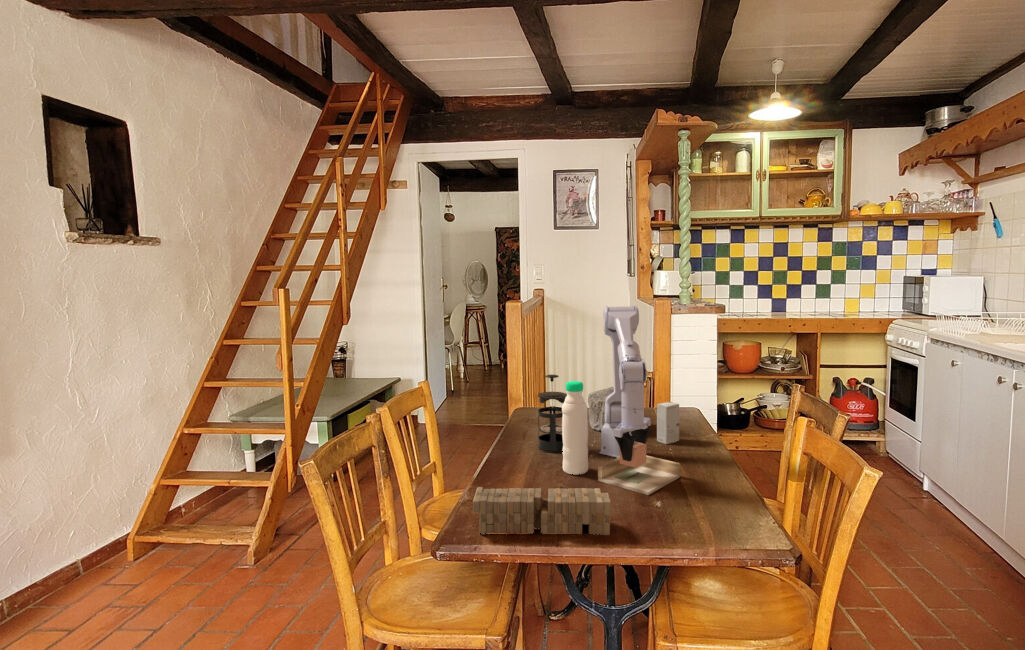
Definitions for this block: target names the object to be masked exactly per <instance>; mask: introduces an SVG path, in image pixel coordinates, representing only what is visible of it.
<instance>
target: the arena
mask: <svg viewBox="0 0 1025 650" xmlns="http://www.w3.org/2000/svg"><path fill="white" fill-rule="evenodd" d="M679 478H681V463H680V462H676V461H672V460H668V459H663V458H659V457H655V456H651V455H647V454H646V463H645V464H643V465H641V466H639V467H637V468H635V467H631V466H627V465H623V464H620V457H619V458H616V457H615V459H612V460H610V461H608V462H606V463H603V464H601V465H599V466H598V467H597V481H598V482H601V483H604V484H608V485H611V486H615V487H618V488H621V489H626V490H629V491H633V492H636V493H639V494H643V495H646V496H650V495H652V494H653V493H654V492H657V491H658V490H660V489H661V488H663V487H665V486H667V485H668V484H671V483H673V482H674V481H676V480H677V479H679Z"/></svg>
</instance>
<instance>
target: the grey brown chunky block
mask: <svg viewBox="0 0 1025 650" xmlns="http://www.w3.org/2000/svg"><path fill="white" fill-rule="evenodd" d="M613 392H614V386H610V387H607V388H604V389H600V390H596V391H593V392H590V393H588V394H587V403H588V413H589V416H588V417H589V418H588V420H589V421H588V423H589V426H590V428H591V429H592V430H594V431H598V432H601V430H602V427H603V425H604V424H605V423H606V422H605V400H606V397H608V396H609V395H610V394H611V393H613ZM612 403H622V401H614V402H612Z"/></svg>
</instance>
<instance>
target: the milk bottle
mask: <svg viewBox="0 0 1025 650" xmlns="http://www.w3.org/2000/svg"><path fill="white" fill-rule="evenodd" d="M583 390H584V384H583V382H582V381H579V380H571V381H570V380H569V381H567V382H566V383H565V392H566V394H567V396H566V397H565V402H564V403H562V406H561V407H562V412H561V413H563V416H562V417H561V418H562V419H561V425H562V433H561V434H562V438H563V452H562V470H563V472H564V473H566V474H568V475H572V474H573V475H575V476H577V475H578V476H579V474H580V475H584V474H586V473H588V471H589V460H588V458H589V457H588V456H589V447H588V441H589V440H588V439H589V421H588V420H589V418H588V412H589V406H588V405H587V402H586V401H585V399H584V396H583V395H582V393H583Z"/></svg>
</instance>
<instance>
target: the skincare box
mask: <svg viewBox="0 0 1025 650" xmlns="http://www.w3.org/2000/svg"><path fill="white" fill-rule="evenodd" d="M677 441H678V442H679V441H680V403H677V402H674V401H668V402H667V401H666V402H661V403H656V442H658V443H661V444H664V445H669V444H674V443H677Z"/></svg>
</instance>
